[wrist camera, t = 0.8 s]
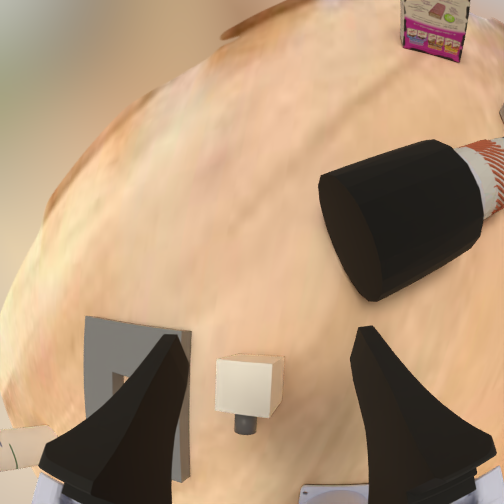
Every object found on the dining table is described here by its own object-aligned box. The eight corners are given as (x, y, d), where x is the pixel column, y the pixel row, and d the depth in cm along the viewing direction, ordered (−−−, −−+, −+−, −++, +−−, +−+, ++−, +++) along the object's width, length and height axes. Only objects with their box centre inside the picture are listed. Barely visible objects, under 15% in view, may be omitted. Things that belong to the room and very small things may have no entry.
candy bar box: (453, 50, 27) (462, -19, 12) (459, 63, 26) (473, -10, 11) (398, 36, 31) (397, -37, 16) (401, 48, 30) (403, -32, 15)
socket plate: (189, 476, 22) (181, 483, 20) (98, 437, 26) (88, 440, 24) (191, 331, 27) (181, 330, 25) (96, 317, 31) (85, 315, 29)
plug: (280, 418, 22) (267, 440, 17) (236, 413, 23) (214, 431, 18) (284, 356, 24) (272, 364, 19) (239, 353, 25) (216, 358, 20)
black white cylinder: (523, 186, 23) (570, 185, 13) (345, 284, 25) (395, 322, 15) (503, 121, 22) (549, 108, 12) (308, 182, 24) (345, 160, 14)
